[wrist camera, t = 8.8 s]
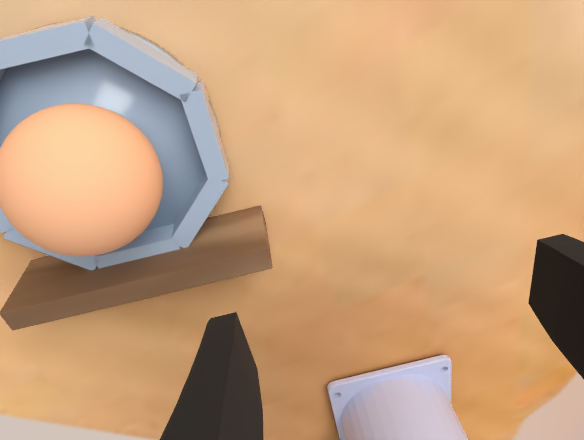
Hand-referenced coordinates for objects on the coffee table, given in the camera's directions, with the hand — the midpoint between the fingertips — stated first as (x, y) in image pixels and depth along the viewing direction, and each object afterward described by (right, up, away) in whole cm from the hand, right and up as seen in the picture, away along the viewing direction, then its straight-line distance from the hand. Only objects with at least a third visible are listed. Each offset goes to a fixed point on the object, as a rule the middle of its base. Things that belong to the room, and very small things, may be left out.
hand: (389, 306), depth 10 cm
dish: (-10, +5, +8) cm, 14 cm away
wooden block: (-9, +1, +10) cm, 14 cm away
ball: (-10, +5, +7) cm, 13 cm away
